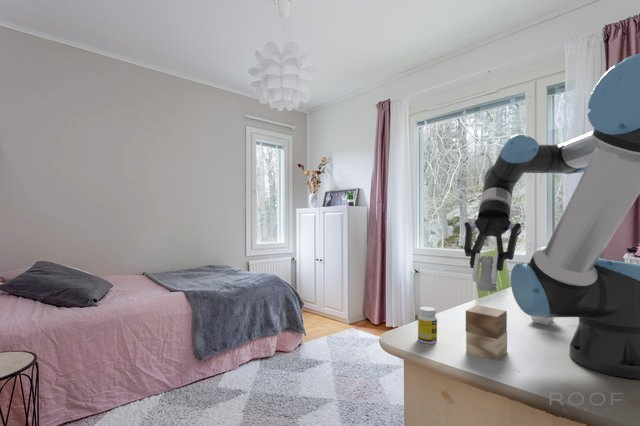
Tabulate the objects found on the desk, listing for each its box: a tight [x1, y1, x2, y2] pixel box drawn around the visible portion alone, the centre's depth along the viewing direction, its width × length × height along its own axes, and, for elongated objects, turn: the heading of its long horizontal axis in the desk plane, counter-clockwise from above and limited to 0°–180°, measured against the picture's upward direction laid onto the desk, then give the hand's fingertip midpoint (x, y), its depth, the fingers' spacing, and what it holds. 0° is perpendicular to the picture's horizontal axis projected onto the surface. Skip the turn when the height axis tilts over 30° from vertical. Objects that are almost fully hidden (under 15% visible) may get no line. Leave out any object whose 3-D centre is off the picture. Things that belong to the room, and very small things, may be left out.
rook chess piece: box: [476, 255, 498, 293], centre depth 82 cm, size 4×4×8 cm
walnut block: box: [465, 305, 508, 339], centre depth 82 cm, size 7×7×5 cm
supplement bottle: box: [417, 306, 438, 345], centre depth 89 cm, size 5×5×8 cm
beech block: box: [465, 331, 508, 361], centre depth 82 cm, size 7×7×5 cm
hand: (484, 279), depth 79 cm, fingers closed on rook chess piece, 3 cm apart
